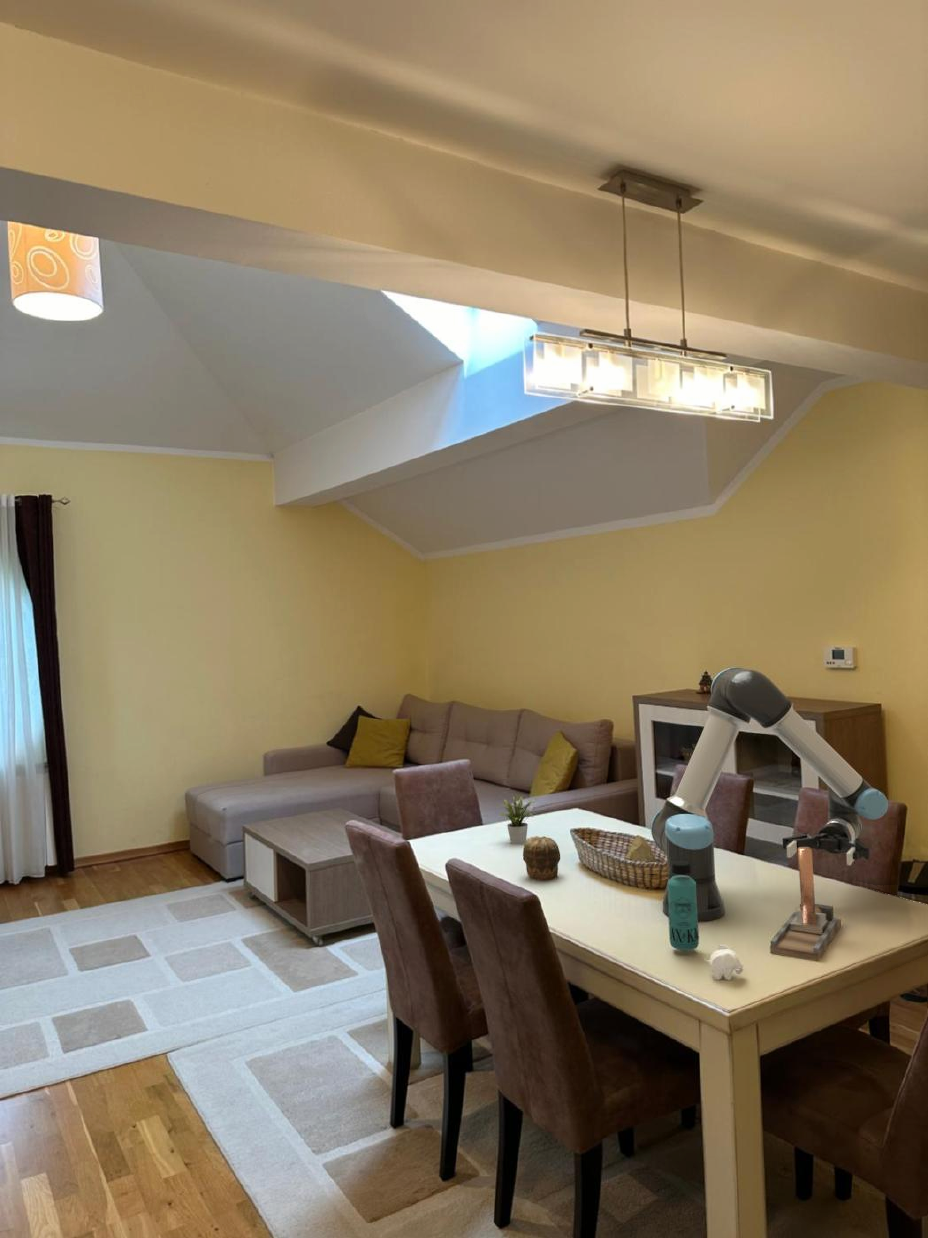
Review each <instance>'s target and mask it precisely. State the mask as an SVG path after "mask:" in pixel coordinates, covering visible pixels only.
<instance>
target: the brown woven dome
mask: <svg viewBox="0 0 928 1238" xmlns="http://www.w3.org/2000/svg"><path fill="white" fill-rule="evenodd" d="M523 845H524V846H523V852H522V858H523V862H524V863H525V866H526V868H525V869H526V873H527V875H528V877H529V878H530V879H531V880H535V881H543V882H544V881H551V880H554V879H557V878H559V876H558V873H559V871H558V870H559V862H561V852H560V848H559V846H558V843H557V842H556V841H555V839H553V838H551V837H546V836H545V835H544V836H541V837H539V836H538V835H536V836H531V837H529V838H527V839H526V842H525V844H523Z"/></svg>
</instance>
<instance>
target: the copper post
mask: <svg viewBox="0 0 928 1238" xmlns="http://www.w3.org/2000/svg"><path fill="white" fill-rule="evenodd" d="M797 856H798V872H799V873H798V875H799V893H800V904H801V910H800V909H796V910H795V912H796V917H795V918H794V919H793V920H792V922H791V923H790V930H796V931H802V932H809V933H815V934H823V933H824V931H825V930H826V928H827V927H828V920H826V914H824V913H817V912H815V904H816V902H815V901H816V900H815V899H816V898H815V884H814V867H813V865H814V864H813V848H809V847H799V848H798V850H797Z"/></svg>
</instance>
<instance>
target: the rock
mask: <svg viewBox="0 0 928 1238" xmlns="http://www.w3.org/2000/svg"><path fill="white" fill-rule="evenodd" d="M625 857H626V858H628V859H632V860H637V861H647V862H656V863H657V861H656V857H655V855H654V853H653V850H652V848H651V846H650V845H649V844H648V842H647V841H646V839H645V837H643V836H641V835H639V834H637V835H635V838H634V839H633V841H632V843H631V845H630V847H629V848H628V852H627V854H625Z"/></svg>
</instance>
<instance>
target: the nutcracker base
mask: <svg viewBox="0 0 928 1238" xmlns="http://www.w3.org/2000/svg"><path fill="white" fill-rule="evenodd" d="M799 906H800V907H799V908H800V909H799V910H801V903H800V904H799ZM815 912H817V913H824V914H826V920H828V927H827V928H826V930H825V931H824V933H823V934H815V933H809V932H802V931H796V930H790V923H791V922H792V920H793V919H794V918H795V917H796V911H794V912H792V914H791V915H790V917H788V919H787V920H786V921H785V923H784V924H783V925H782V926H781V927H780V929H778V931H777V932H776V933H775V934H774V936H773V937H772V938H771V939H770V940H769V941H770V942H769V943H770V946H769V951H770V954H775V955H780V956H781V955H782V956H786V957H792V958H796V959H797V958H798V959H803V960H810V961H816V962H819V961H820V960H821V958H822V956H823V955H824V953H825V952H826V950H827V948H828V947H829V945H831V942H832V941H833V939H834V937H835V936H836V934H837V933H838V931H839V930H840V929H841V927H842V919H841V918H839V917H835V916H834V906H833V905H825V904H820V903H819V904H818V903H815Z"/></svg>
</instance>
